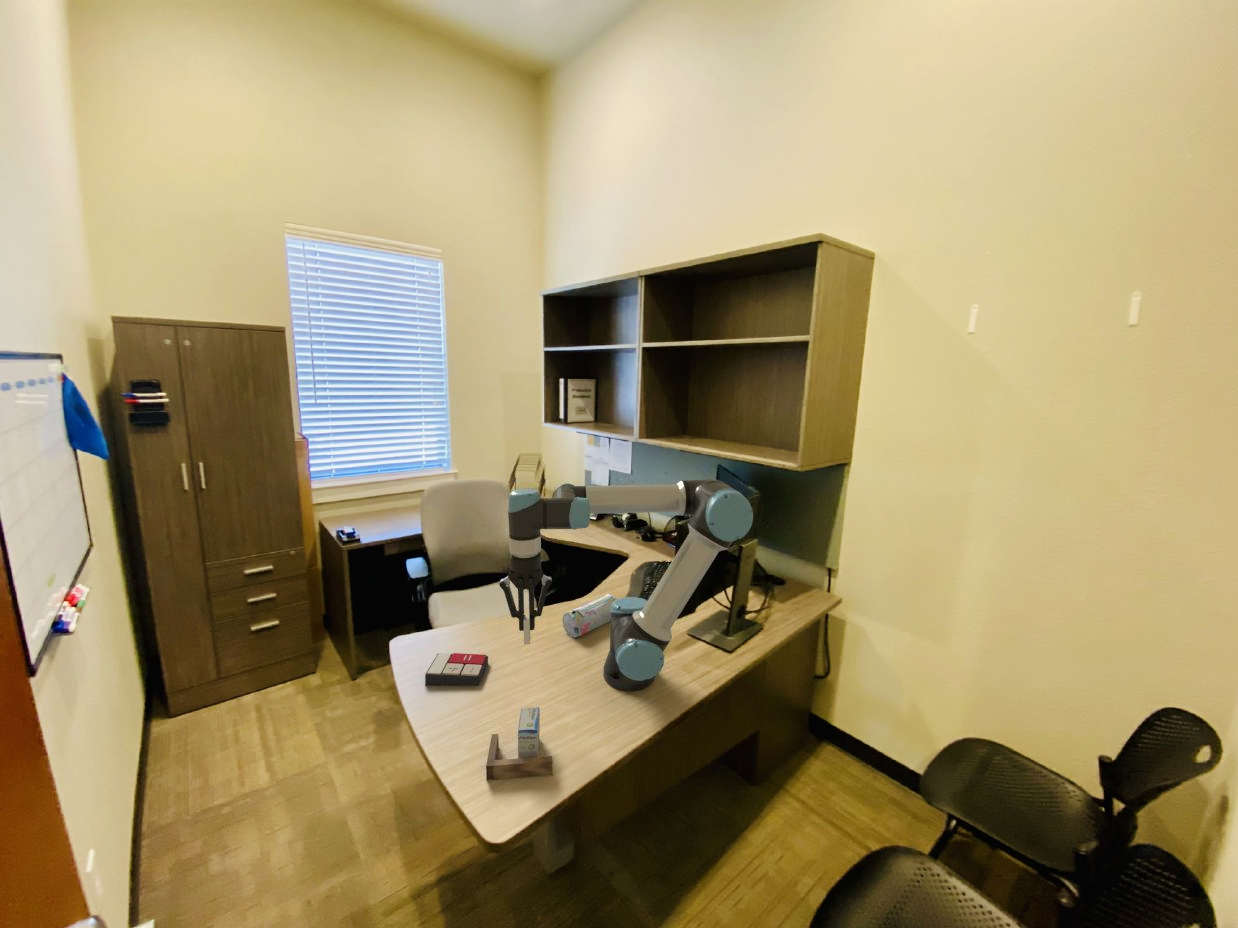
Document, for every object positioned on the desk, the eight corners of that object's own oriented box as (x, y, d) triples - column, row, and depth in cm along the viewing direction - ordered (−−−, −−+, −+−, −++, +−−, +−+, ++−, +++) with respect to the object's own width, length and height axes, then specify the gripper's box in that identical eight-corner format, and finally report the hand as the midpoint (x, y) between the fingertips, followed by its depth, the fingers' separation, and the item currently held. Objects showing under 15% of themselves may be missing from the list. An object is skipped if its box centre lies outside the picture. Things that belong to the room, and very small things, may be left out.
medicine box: (521, 739, 118) (520, 706, 116) (539, 738, 118) (539, 705, 116) (517, 764, 110) (517, 730, 108) (538, 763, 110) (537, 729, 109)
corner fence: (552, 743, 116) (552, 729, 116) (552, 775, 107) (552, 761, 107) (492, 747, 115) (491, 734, 114) (486, 780, 105) (486, 765, 105)
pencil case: (576, 642, 160) (576, 615, 159) (559, 632, 167) (559, 606, 165) (621, 621, 175) (622, 596, 173) (604, 612, 181) (605, 588, 179)
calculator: (479, 675, 137) (424, 672, 136) (479, 689, 137) (424, 686, 137) (488, 653, 147) (437, 650, 147) (488, 666, 148) (437, 663, 148)
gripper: (552, 546, 124) (553, 632, 129) (499, 548, 123) (502, 635, 127) (552, 557, 117) (553, 647, 121) (496, 559, 115) (499, 651, 120)
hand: (527, 641), depth 124 cm, fingers closed
